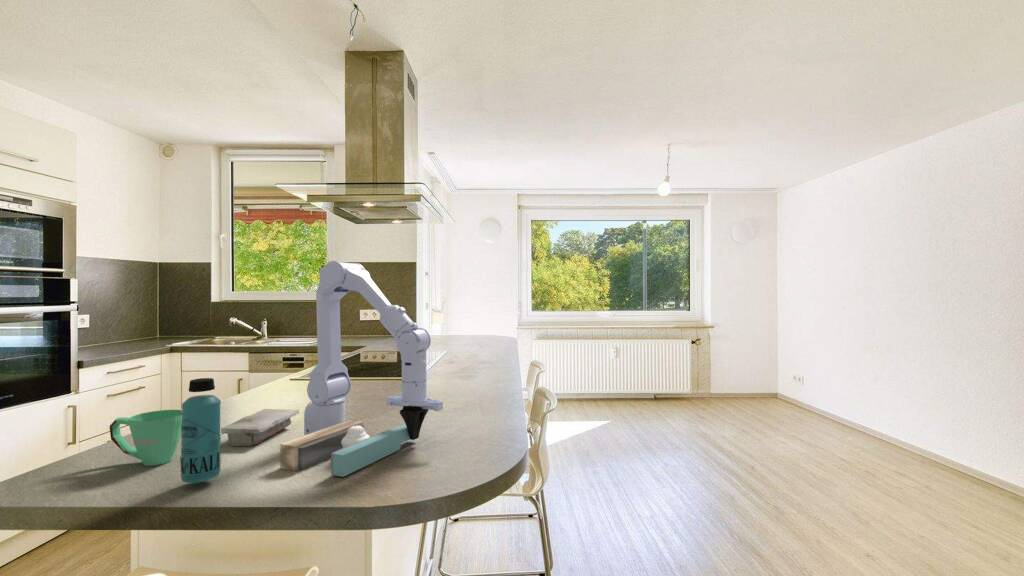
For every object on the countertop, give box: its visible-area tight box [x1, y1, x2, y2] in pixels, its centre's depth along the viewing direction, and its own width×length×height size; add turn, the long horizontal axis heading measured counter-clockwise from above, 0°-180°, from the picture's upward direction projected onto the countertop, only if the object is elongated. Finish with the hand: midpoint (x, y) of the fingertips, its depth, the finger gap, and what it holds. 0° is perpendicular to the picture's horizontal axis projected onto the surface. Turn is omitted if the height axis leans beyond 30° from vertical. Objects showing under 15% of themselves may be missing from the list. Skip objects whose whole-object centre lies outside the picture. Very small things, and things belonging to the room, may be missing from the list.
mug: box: [108, 409, 182, 467], centre depth 103 cm, size 15×10×10 cm
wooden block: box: [279, 419, 365, 472], centre depth 107 cm, size 5×20×5 cm, turn 156°
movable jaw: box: [330, 423, 410, 478], centre depth 105 cm, size 3×25×4 cm, turn 156°
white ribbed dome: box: [341, 425, 371, 448], centre depth 105 cm, size 6×6×7 cm
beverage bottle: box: [179, 377, 222, 484], centre depth 91 cm, size 6×7×20 cm
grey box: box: [220, 408, 300, 447], centre depth 121 cm, size 18×5×10 cm
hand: (414, 438), depth 112 cm, fingers closed
